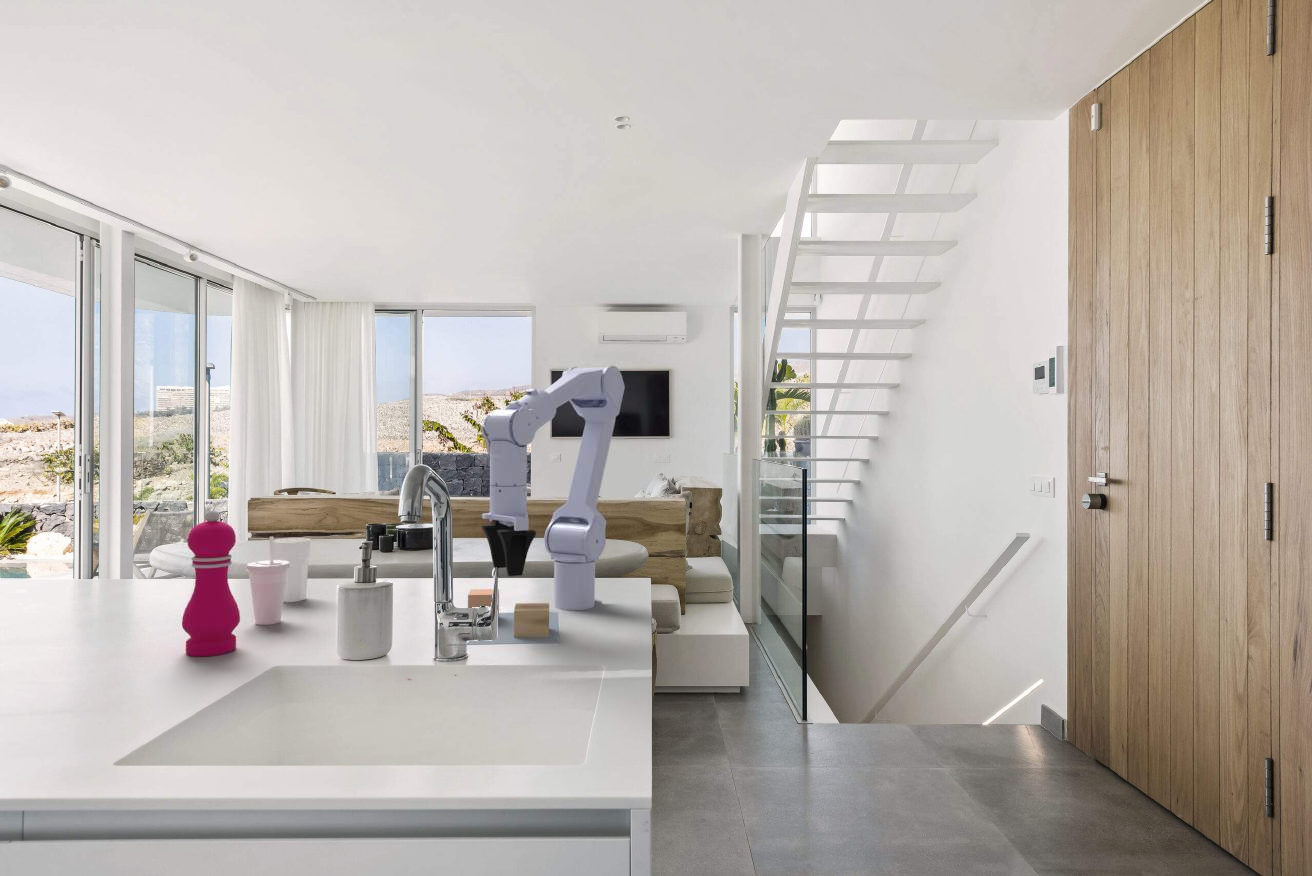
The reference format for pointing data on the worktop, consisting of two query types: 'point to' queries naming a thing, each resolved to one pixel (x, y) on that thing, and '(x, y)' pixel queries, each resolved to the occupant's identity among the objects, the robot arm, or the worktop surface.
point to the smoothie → (268, 588)
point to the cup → (294, 565)
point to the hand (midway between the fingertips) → (507, 571)
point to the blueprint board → (508, 637)
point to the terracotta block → (481, 598)
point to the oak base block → (531, 620)
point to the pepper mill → (211, 590)
